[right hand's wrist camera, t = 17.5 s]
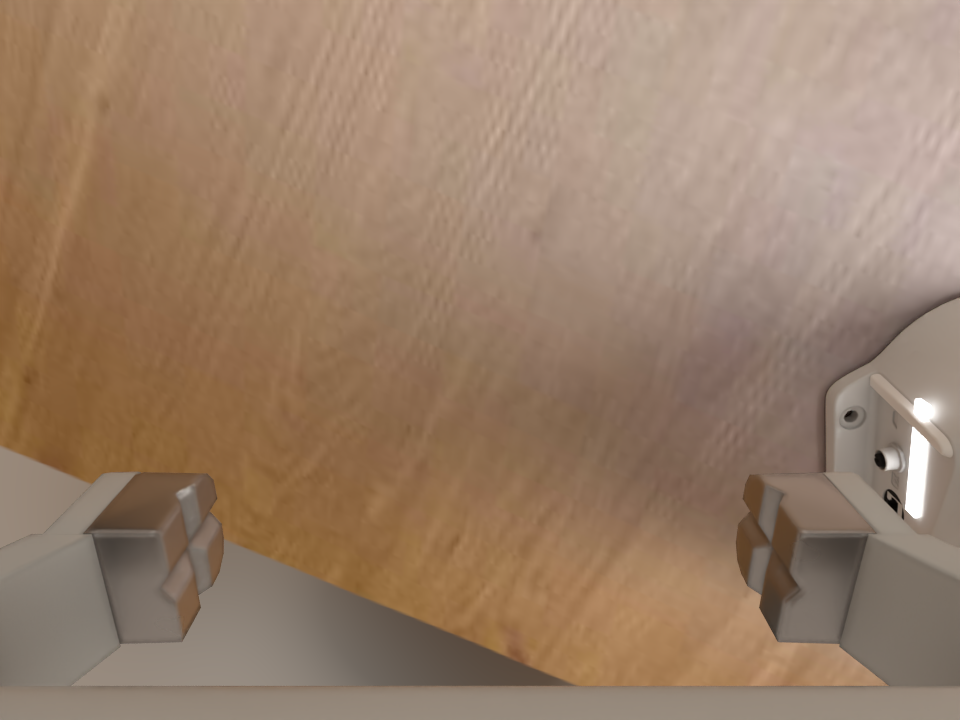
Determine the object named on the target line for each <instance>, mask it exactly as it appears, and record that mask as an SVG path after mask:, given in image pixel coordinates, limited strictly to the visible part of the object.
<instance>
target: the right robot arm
mask: <svg viewBox="0 0 960 720" xmlns="http://www.w3.org/2000/svg"><path fill="white" fill-rule="evenodd" d="M851 410H852V413H851V414H850V415H849V416H848V417H844V416H845V414H846V413H847V412H848V411H851ZM216 500H217V495H216V490H215V486H214V481H213V479H212V478H211V477H210V476H209V475H208V474H206V473H154V472H143V473H140V472H110V473H105V474H102V475H101V476H100V477H99V478H98V479H97V480H96V481H95V482H94V483H93V484H92V485H91V486H90V487H89V488H88V489H87V490H86V491H85V492H84V493H83V494H82V495H81V496H80V497H79V498H78V499H77V500H76V501H75V502H74V503H73V504H72V505H71V506H70V507H69V508H68V509H67V510H66V511H65V512H64V513H63V514H62V515H61V516H60V517H59V518H58V519H57V520H56V521H55V522H54V523H53V524H52V525H51V526H50V527H49V528H48V529H47V530H46V531H45V532H44V533H43V534H31V535H29V536H27V537H24V538H22V539H20V540H18V541H15V542H13V543H11V544H9V545H6V546H4V547H2V548H0V720H960V297H959V298H956V299H954V300H951V301H949V302H947V303H944V304H942V305H940V306H938V307H936V308H934V309H933V310H931V311H929V312H927V313H926V314H924V315H923V316H921V317H920V318H918V319H917V320H916V321H914V322H913V323H912V324H910V325H909V326H908V327H907V328H905V329H904V330H903V331H902V332H901V333H900V334H899V335H898V336H897V337H896V338H895V339H894V340H893V341H892V342H891V343H890V344H889V345H888V346H887V347H886V348H885V349H884V350H883V351H882V352H881V353H880V354H879V355H878V356H877V357H876V358H875V359H873V360H872V361H871V362H870V363H868V364H866V365H864V366H862V367H860V368H858V369H856V370H854V371H852V372H851V373H849V374H847V375H845V376H844V377H842V378H840V379H839V380H838V381H836V382H835V383H834V384H833V385H832V386H831V387H830V388H829V390H828V392H827V394H826V472H825V473H789V474H755V475H750V476H749V478H748V480H747V482H746V484H745V489H744V495H743V500H744V502H745V503H746V505H747V506H748V508H749V510H750V512H749V513H748V515H747V516H746V517H745V518H744V519H743V520H742V521H741V522H740V523H739V524H738V531H737V539H736V549H737V560H738V564H739V567H740V571H741V574H742V576H743V578H744V580H745V582H746V584H747V586H748V587H750V588H751V589H753V590H755V591H756V592H758V593H759V594H761V595H762V596H761V601H760V607H759V608H760V610H761V612H762V614H763V615H764V617H765V619H766V621H767V623H768V625H769V626H770V628H771V630H772V632H773V634H774V636H775V637H776V639H777V641H778V642H794V643H830V644H840V646H839V647H841V648H842V649H843V650H844V651H846V652H847V653H848V654H850V655H851V656H852V657H853V658H855V659H856V660H857V661H858V662H860V663H861V664H862V665H864V666H865V667H866V668H867V669H869V670H870V671H871V672H872V673H874V674H875V675H876V676H878V677H879V678H880V679H881V680H883V681H884V682H885V683H886V684H888V685H889V686H71V685H72V684H74V683H75V682H76V681H78V680H79V679H80V678H81V677H83V676H84V675H85V674H87V673H88V672H89V671H90V670H92V669H93V668H94V667H95V666H97V665H98V664H99V663H100V662H102V661H103V660H104V659H106V658H107V657H108V656H109V655H111V654H112V653H113V652H114V651H116V650H117V649H118V648H120V644H129V643H164V642H182V641H183V639H184V637H185V636H186V634H187V632H188V630H189V628H190V626H191V625H192V623H193V621H194V619H195V617H196V615H197V614H198V612H199V610H200V608H201V607H200V601H199V596H198V595H199V594H201V593H202V592H204V591H205V590H207V589H209V588H210V587H212V585H213V584H214V582H215V580H216V578H217V576H218V574H219V571H220V567H221V562H222V558H223V554H224V536H223V530H222V524H221V523H220V522H219V521H218V520H217V519H216V518H215V517H214V516H213V515H212V513H211V512H210V510H211V508H212V506H213V505H214V503H215V502H216Z"/></svg>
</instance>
